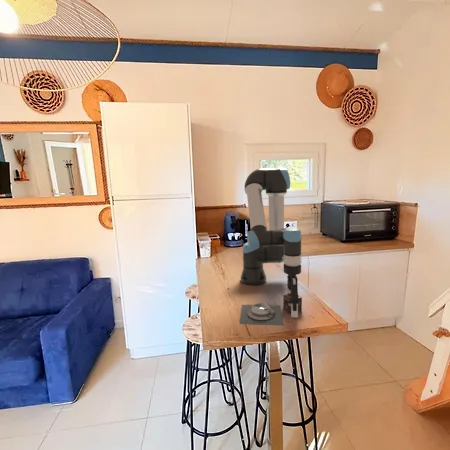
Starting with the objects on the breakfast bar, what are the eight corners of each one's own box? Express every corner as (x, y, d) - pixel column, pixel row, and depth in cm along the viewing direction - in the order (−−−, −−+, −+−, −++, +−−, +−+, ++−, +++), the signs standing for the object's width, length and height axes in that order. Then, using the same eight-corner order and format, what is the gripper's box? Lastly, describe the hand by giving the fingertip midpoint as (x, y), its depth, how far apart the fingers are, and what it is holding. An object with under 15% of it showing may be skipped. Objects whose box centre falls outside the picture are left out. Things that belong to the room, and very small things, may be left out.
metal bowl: (247, 307, 128) (247, 301, 128) (274, 308, 127) (274, 301, 126) (246, 320, 117) (246, 314, 116) (275, 321, 115) (275, 314, 115)
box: (282, 309, 126) (282, 294, 125) (294, 307, 128) (294, 292, 127) (290, 315, 120) (290, 299, 119) (302, 312, 122) (302, 297, 121)
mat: (241, 305, 132) (241, 304, 132) (280, 306, 130) (280, 305, 130) (239, 325, 114) (239, 324, 114) (283, 326, 112) (283, 325, 112)
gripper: (281, 256, 133) (281, 298, 136) (286, 273, 109) (286, 323, 112) (297, 256, 132) (297, 298, 135) (306, 273, 108) (305, 323, 111)
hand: (292, 309), depth 124 cm, fingers open, 13 cm apart
